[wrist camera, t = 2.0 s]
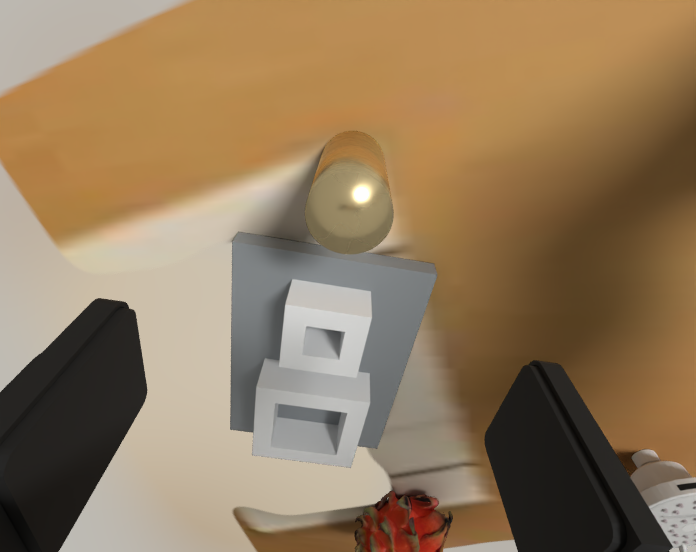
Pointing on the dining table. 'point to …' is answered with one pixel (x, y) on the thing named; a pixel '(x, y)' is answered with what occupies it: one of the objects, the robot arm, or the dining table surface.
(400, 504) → the dragon fruit
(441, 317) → the dining table surface
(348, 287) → the socket board
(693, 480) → the showerhead
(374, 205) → the gold rounded cylinder
